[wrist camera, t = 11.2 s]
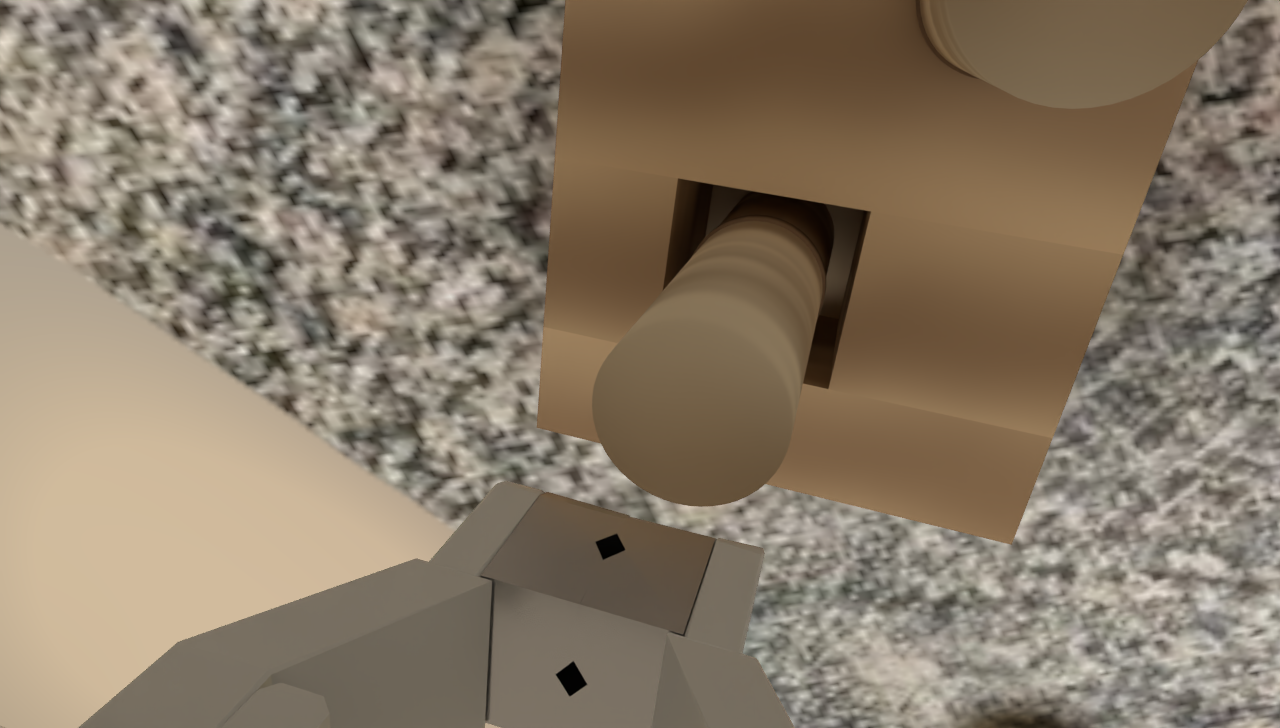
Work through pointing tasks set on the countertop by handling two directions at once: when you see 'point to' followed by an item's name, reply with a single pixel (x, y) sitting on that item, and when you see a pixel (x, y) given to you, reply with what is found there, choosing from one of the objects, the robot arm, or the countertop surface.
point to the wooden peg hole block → (874, 211)
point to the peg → (720, 357)
